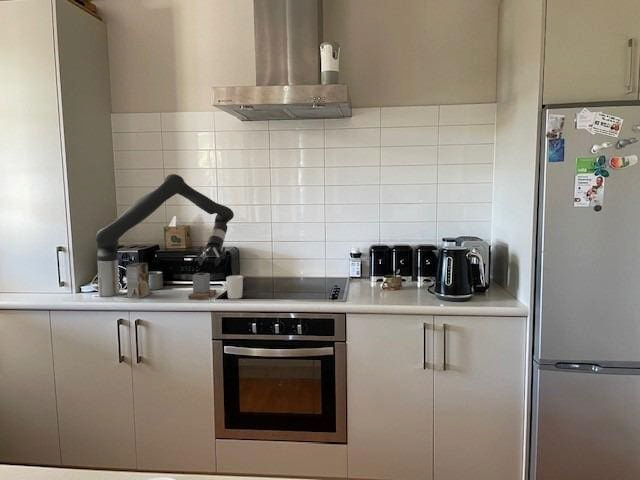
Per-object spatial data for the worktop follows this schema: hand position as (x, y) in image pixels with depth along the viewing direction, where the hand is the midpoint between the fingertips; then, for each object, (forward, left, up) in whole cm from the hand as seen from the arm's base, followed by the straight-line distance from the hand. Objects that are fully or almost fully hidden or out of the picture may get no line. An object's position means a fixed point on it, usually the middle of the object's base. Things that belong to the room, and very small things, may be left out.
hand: (207, 264), depth 225 cm
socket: (-5, -5, -13) cm, 14 cm away
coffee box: (-31, +11, -15) cm, 36 cm away
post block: (-4, -5, -15) cm, 16 cm away
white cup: (+9, -15, -15) cm, 23 cm away
